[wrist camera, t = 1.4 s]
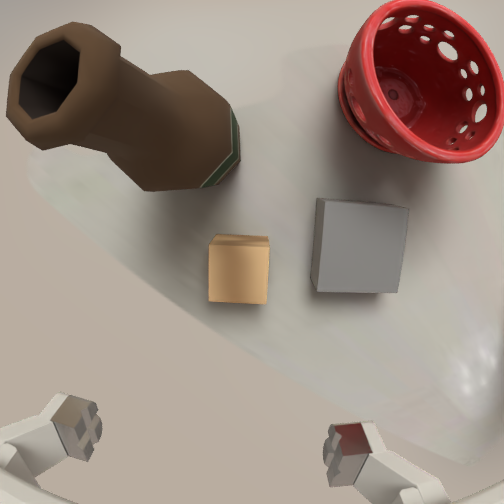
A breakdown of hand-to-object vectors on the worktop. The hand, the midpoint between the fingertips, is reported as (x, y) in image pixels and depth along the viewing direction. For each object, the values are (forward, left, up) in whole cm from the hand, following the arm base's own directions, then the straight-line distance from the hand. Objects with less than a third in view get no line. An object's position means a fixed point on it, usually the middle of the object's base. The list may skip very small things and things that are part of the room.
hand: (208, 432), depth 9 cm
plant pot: (-14, -17, -23) cm, 32 cm away
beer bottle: (+4, -11, -23) cm, 26 cm away
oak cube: (0, 0, -23) cm, 23 cm away
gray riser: (-11, -2, -23) cm, 25 cm away
